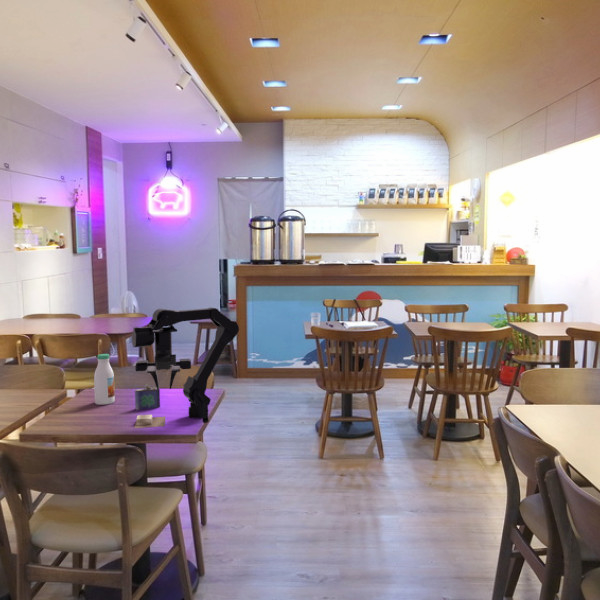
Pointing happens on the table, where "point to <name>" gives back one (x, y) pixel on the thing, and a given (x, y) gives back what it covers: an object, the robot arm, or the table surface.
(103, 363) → the milk bottle
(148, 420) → the coaster
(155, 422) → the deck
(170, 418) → the table surface
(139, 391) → the flask
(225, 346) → the robot arm
